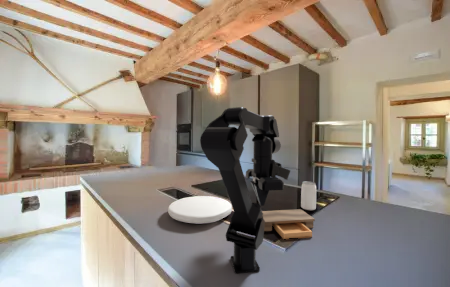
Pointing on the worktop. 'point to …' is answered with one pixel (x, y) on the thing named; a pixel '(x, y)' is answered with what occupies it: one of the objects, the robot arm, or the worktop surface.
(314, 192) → the can
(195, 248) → the worktop surface
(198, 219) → the white thick disc
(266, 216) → the overhang
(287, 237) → the shallow tan tray
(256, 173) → the robot arm
